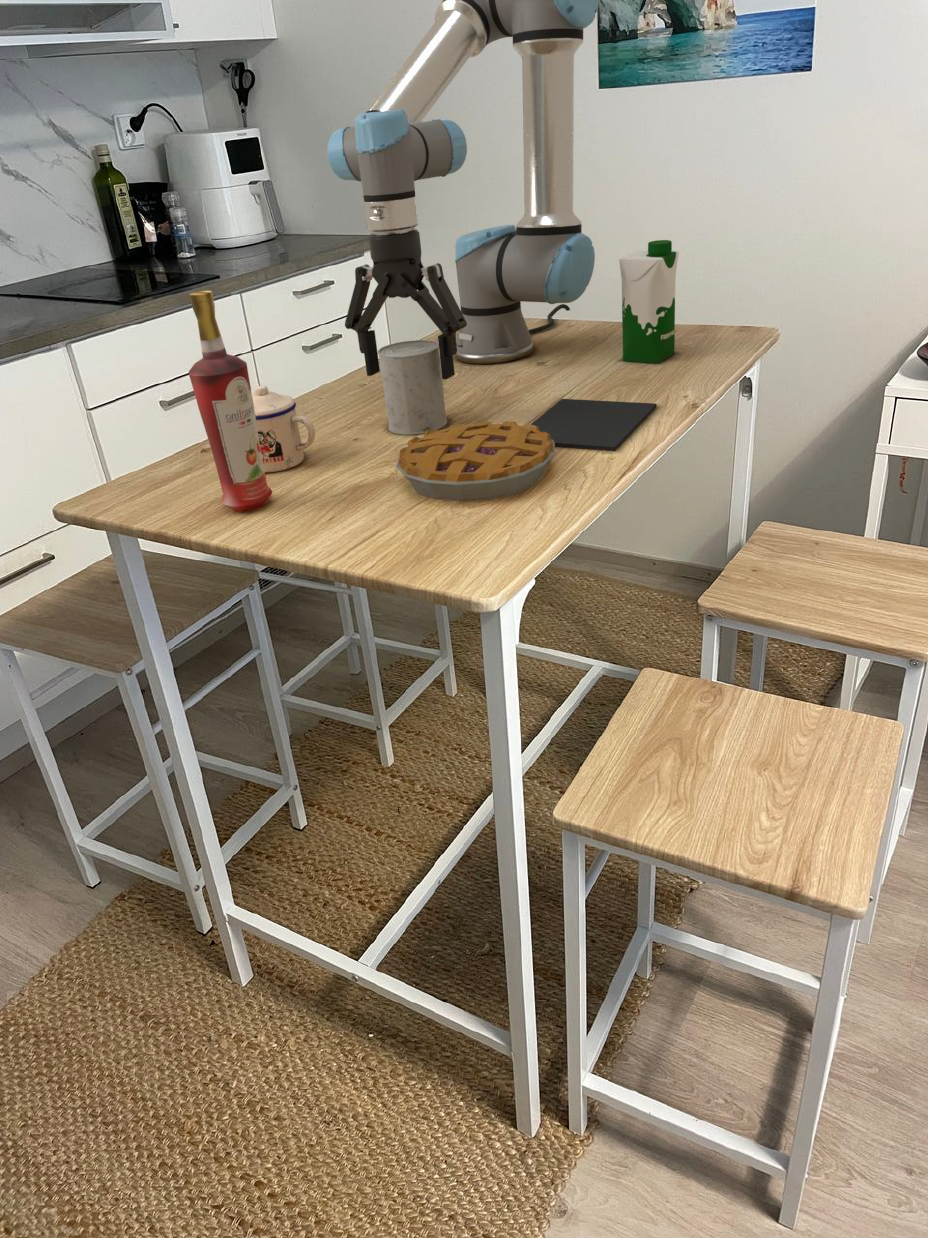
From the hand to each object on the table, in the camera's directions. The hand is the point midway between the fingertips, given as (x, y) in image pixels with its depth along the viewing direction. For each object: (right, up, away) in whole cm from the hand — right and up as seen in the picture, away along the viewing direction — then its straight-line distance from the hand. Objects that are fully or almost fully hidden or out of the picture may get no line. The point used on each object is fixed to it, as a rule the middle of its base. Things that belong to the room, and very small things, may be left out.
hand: (410, 375), depth 148 cm
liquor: (-21, -23, -19) cm, 36 cm away
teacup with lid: (-19, -15, -6) cm, 24 cm away
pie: (+10, -19, -18) cm, 28 cm away
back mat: (+27, -9, -4) cm, 29 cm away
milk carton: (+43, +10, +26) cm, 51 cm away
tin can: (+1, -7, +4) cm, 8 cm away
